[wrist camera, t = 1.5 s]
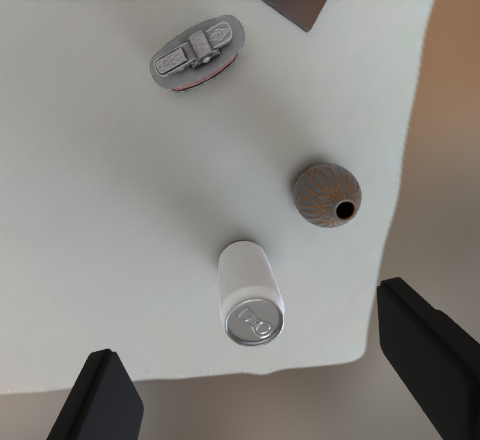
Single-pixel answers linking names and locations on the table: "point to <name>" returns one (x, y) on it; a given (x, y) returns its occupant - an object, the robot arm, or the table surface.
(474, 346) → the robot arm
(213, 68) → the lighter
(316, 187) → the vase
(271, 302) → the can
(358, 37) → the table surface
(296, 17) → the walnut board
